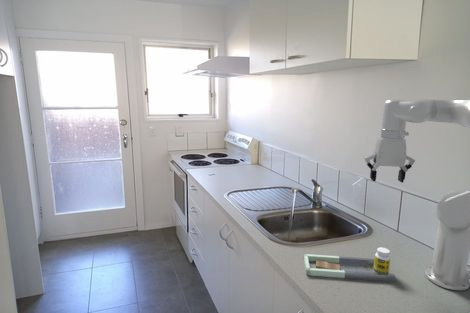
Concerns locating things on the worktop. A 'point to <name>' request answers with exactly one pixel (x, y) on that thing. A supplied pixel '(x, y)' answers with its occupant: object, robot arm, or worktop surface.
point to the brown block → (333, 266)
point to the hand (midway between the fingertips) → (386, 180)
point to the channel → (362, 269)
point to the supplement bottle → (382, 260)
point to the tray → (322, 271)
